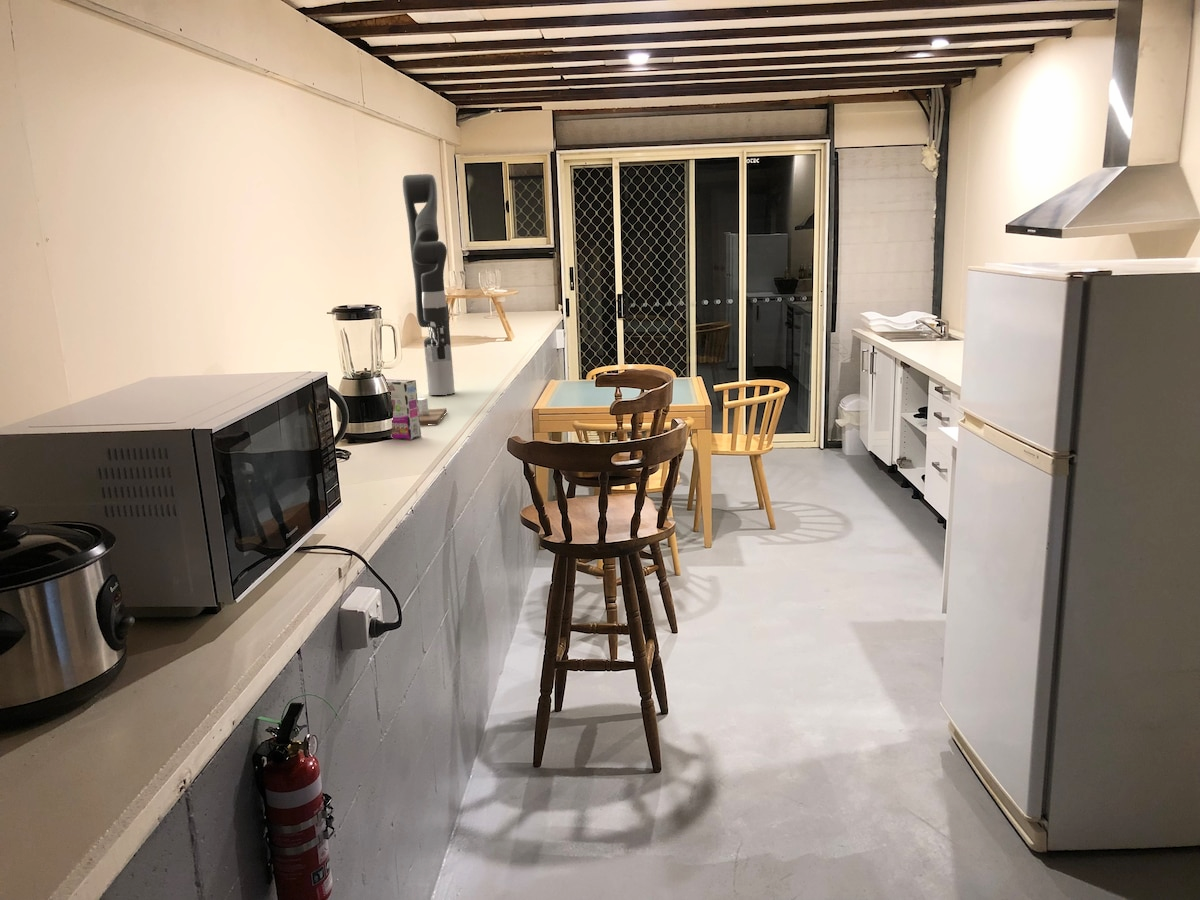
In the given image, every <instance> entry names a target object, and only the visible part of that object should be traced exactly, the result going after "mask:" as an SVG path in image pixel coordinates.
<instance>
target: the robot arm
mask: <svg viewBox="0 0 1200 900" xmlns="http://www.w3.org/2000/svg"><path fill="white" fill-rule="evenodd" d="M402 192H403V198H404V204H405V211H406V218H407V223H408V231H409V233H408V234H409V244H410V247H409V248H410V255H411V264H412V270H413V276H414V277H413V278H414V285H415V287H414V288H415V289H414V290H415V304H416V308H415V309H416V316H417V317H416V319H417V323H418V325H419V327H420V328H427V329H428V336H427V337H425V338H424V339H423V346H424V357H425V367H426V369H425V370H426V377H427V379H426V380H427V389H428V395H429V396H430V395H446V396H448V395H447V394H451V395H453V394H452V393H454V392H455V393H456V390H455V380H454V369H453V368H454V367H453V357H452V356H453V355H452V346H451V345H452V344H451V333H450V311H449V309H450V308H449V305H448V303H447V297H446V292H445V283H444V281H445V279H444V272H445V266H446V265H445V264H446V260H447V254H448V249H447V247H446V244H445V243H444V242H443V241H439V238H440V237H439V228H438V218H437V217H438V185H437V181H436V178H435V176H434V175H433V174H432V173H431V174H429V173H425V174H424V173H419V174H418V173H417V174H406V175H404V176H403V178H402ZM415 204H425V205H424V207H423V208H421V210H420V212H419V213H418V211H417V209H416V206H415ZM429 344H437V351H438V359H445V348H444V347H445V346H446V344H448V345H450V356H451V360H450V361H440V362H431V361H429V360H428V352H427V345H429ZM455 393H454V394H455Z"/></svg>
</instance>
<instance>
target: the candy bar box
mask: <svg viewBox="0 0 1200 900" xmlns="http://www.w3.org/2000/svg"><path fill="white" fill-rule="evenodd" d="M386 382H387V383H388V386H389V389H390V392H391V395H390V396H391V401H392V405H393V420H392V437H393V438H394V439H393V440H404V439H407V440H406V441H412V440H415V439H418V437H419V438H421V437H422V431H421V426H420V420H419V410H418V400H417V399H418V391H417V390H418V389H417V383H416V382H417V380H415V379H414V380H413V379H388V378H386ZM386 387H387V385H386ZM387 389H388V387H387ZM388 392H389V390H388Z"/></svg>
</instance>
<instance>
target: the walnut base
mask: <svg viewBox="0 0 1200 900" xmlns="http://www.w3.org/2000/svg"><path fill="white" fill-rule="evenodd" d="M446 412H447V408H445V407H443V408H428V413H429V414H428V415H425V416H419V420H420V425H426V426H429V425H428V424H438V423H440V422H441V421H442V420H441V418H442V417H443V416H444V414H445V413H446ZM446 414H447V413H446ZM444 417H445V416H444ZM444 417H443V418H444ZM440 420H441V421H440ZM439 421H440V422H439ZM438 425H439V424H438Z"/></svg>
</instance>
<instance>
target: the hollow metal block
mask: <svg viewBox="0 0 1200 900" xmlns="http://www.w3.org/2000/svg"><path fill="white" fill-rule="evenodd" d="M444 348H445V359H438V351H437V344H429V345H427V352H428V360H429V361H431V362H440V361H450V360H451V356H450V345H448V344H446V346H445V347H444Z"/></svg>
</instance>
